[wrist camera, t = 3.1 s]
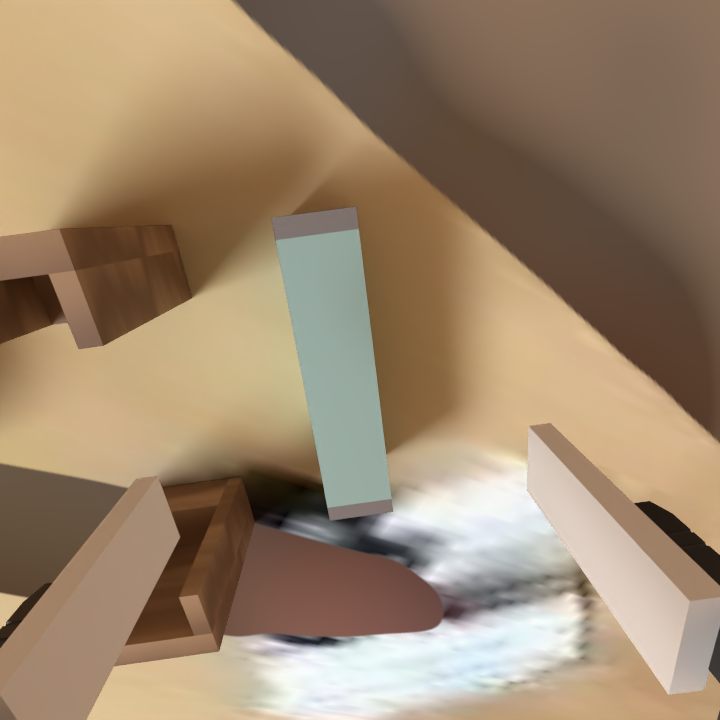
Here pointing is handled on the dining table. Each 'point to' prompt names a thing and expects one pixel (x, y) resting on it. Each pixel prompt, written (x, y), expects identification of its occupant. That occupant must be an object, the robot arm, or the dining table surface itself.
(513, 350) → the dining table surface
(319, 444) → the rail
